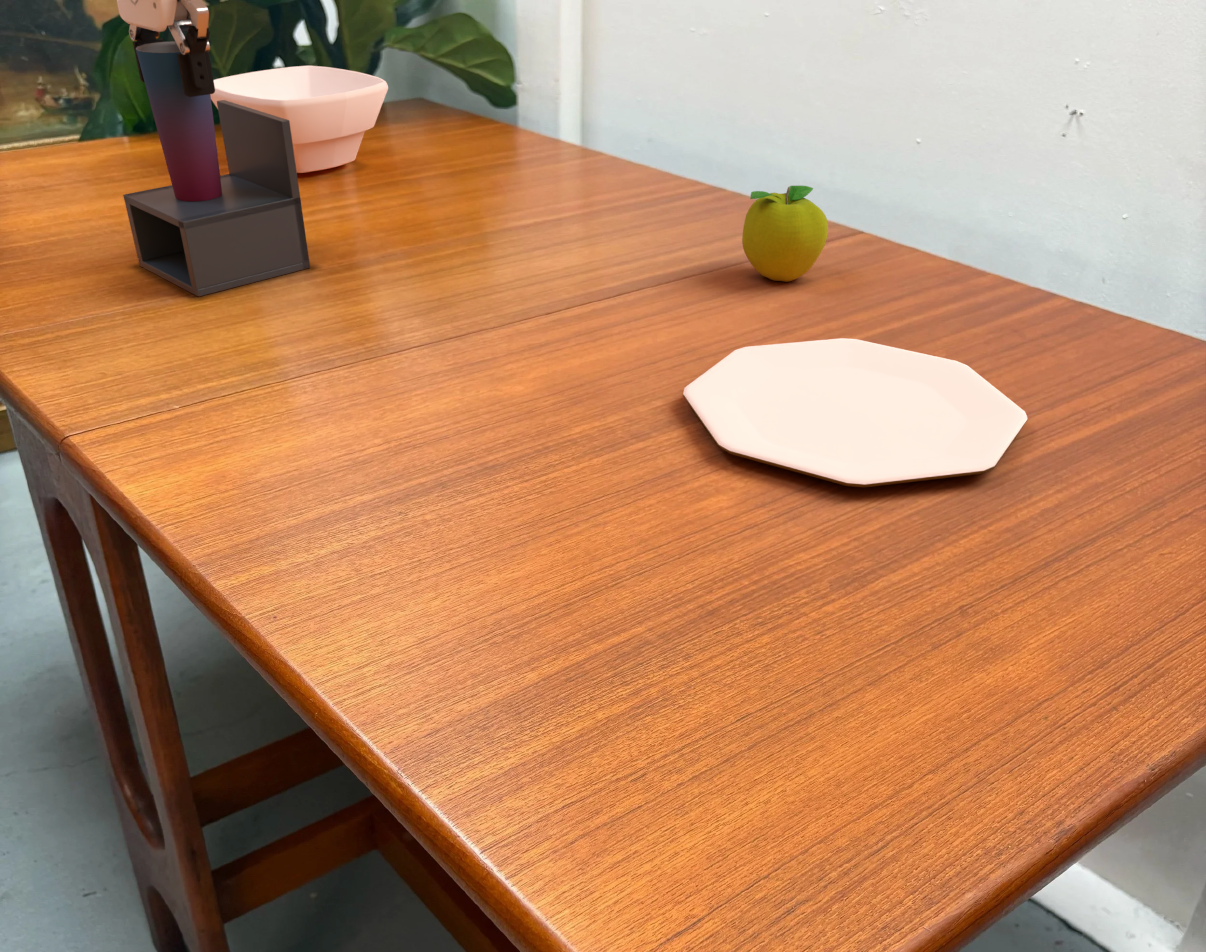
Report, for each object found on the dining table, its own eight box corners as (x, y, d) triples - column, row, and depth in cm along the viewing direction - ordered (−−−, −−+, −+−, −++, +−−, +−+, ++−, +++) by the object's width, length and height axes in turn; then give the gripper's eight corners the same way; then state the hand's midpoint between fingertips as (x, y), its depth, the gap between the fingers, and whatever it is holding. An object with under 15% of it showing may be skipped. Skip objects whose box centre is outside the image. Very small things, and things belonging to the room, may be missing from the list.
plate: (655, 368, 108) (656, 353, 107) (922, 344, 113) (925, 330, 112) (754, 512, 86) (755, 495, 85) (1079, 474, 91) (1084, 457, 90)
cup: (221, 204, 123) (193, 52, 115) (158, 203, 123) (126, 52, 115) (237, 187, 129) (212, 41, 120) (177, 186, 129) (148, 41, 120)
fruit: (722, 273, 130) (728, 183, 124) (785, 259, 134) (794, 171, 128) (774, 297, 124) (783, 203, 118) (838, 282, 128) (850, 191, 122)
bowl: (321, 141, 180) (311, 61, 173) (415, 166, 168) (407, 81, 162) (199, 168, 166) (183, 82, 160) (291, 196, 154) (278, 105, 148)
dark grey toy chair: (198, 297, 123) (166, 141, 113) (139, 265, 131) (105, 118, 122) (310, 267, 131) (289, 120, 121) (248, 240, 139) (224, 99, 130)
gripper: (65, -106, 113) (107, 80, 123) (145, -97, 103) (183, 106, 113) (137, -109, 117) (172, 72, 127) (221, -100, 107) (251, 95, 117)
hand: (177, 87), depth 120 cm, fingers open, 9 cm apart
